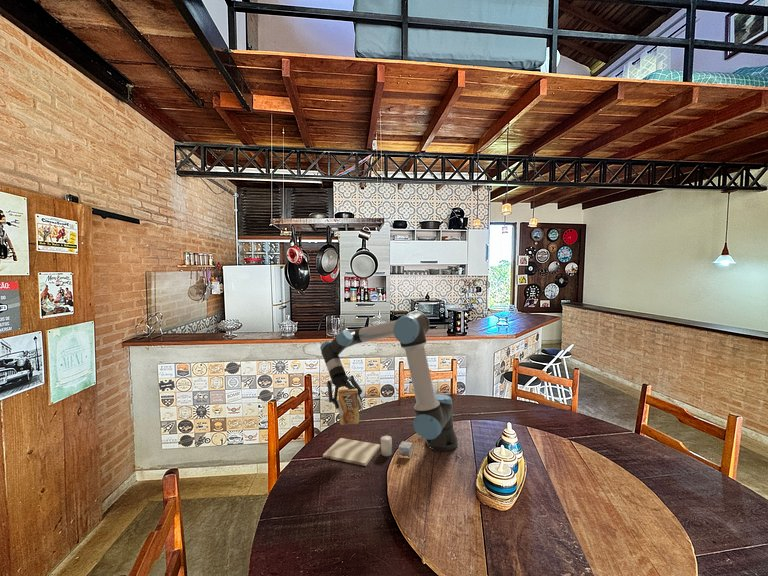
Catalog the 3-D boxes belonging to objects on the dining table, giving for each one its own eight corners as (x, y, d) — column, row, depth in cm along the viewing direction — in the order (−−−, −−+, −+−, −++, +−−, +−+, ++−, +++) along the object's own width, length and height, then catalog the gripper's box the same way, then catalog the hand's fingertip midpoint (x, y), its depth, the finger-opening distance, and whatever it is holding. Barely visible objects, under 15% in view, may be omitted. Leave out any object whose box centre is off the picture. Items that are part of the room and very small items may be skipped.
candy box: (359, 419, 154) (357, 388, 153) (359, 423, 150) (357, 391, 149) (340, 421, 154) (338, 389, 153) (339, 425, 149) (338, 392, 149)
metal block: (413, 453, 148) (412, 442, 148) (409, 459, 144) (409, 448, 144) (402, 451, 150) (402, 441, 150) (399, 457, 146) (398, 446, 145)
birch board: (380, 447, 155) (380, 444, 155) (365, 465, 140) (365, 463, 140) (340, 440, 164) (340, 437, 164) (322, 457, 149) (322, 454, 149)
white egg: (393, 451, 151) (393, 436, 151) (389, 457, 146) (389, 441, 146) (384, 449, 153) (383, 435, 153) (379, 455, 148) (379, 440, 148)
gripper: (353, 369, 170) (370, 408, 157) (313, 378, 158) (327, 421, 145) (357, 361, 165) (375, 401, 152) (316, 370, 153) (331, 414, 141)
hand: (352, 411), depth 149 cm, fingers closed on candy box, 9 cm apart
